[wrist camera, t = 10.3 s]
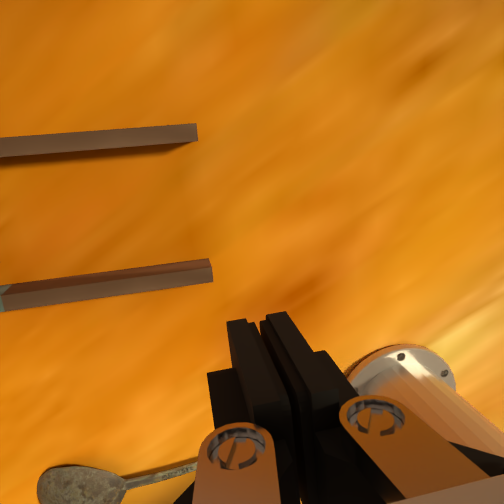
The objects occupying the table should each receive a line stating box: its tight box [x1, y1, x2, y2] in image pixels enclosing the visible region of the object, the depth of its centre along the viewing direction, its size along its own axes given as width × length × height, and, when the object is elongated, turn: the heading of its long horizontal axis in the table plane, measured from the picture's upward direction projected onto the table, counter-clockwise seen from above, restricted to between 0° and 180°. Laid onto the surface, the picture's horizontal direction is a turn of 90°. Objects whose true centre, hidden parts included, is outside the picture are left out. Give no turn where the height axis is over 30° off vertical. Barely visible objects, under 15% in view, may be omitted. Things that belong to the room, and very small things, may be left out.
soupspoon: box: [37, 461, 198, 504], centre depth 38 cm, size 22×3×7 cm
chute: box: [0, 123, 213, 312], centre depth 29 cm, size 12×27×3 cm, turn 94°
